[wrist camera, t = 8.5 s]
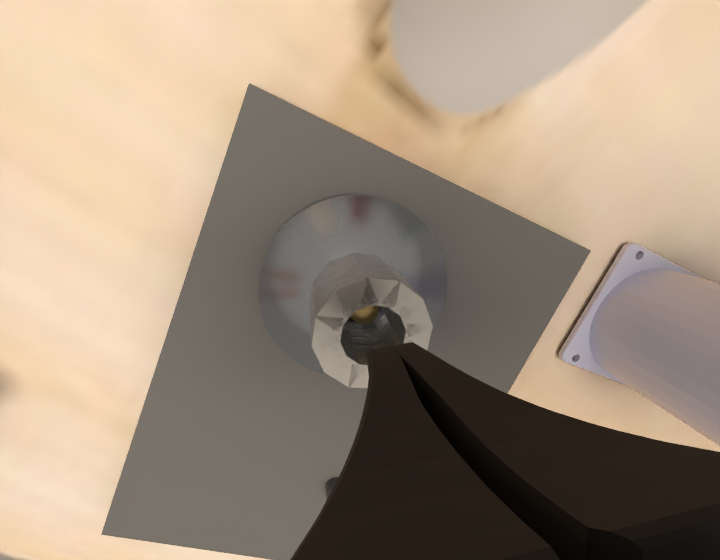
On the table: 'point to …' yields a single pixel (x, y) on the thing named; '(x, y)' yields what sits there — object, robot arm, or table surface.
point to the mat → (280, 372)
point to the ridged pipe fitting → (351, 293)
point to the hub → (334, 240)
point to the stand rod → (330, 485)
